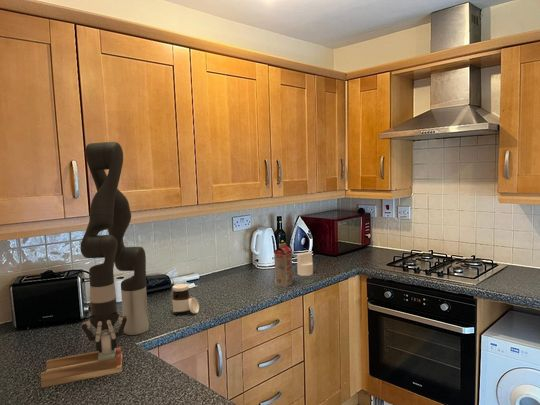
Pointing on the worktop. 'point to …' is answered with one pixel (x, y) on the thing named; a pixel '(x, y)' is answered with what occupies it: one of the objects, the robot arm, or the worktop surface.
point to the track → (79, 368)
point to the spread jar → (183, 300)
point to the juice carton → (283, 265)
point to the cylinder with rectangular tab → (304, 264)
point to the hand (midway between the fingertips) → (106, 350)
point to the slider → (106, 348)
